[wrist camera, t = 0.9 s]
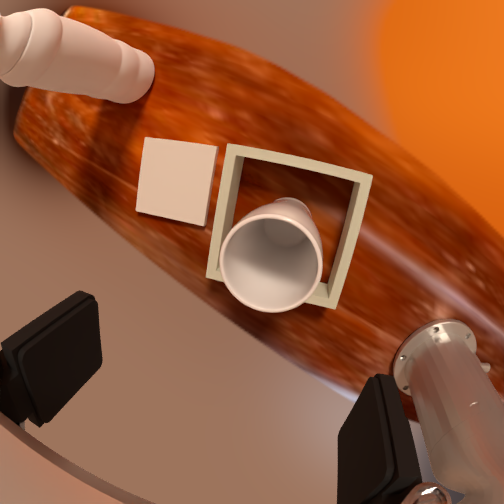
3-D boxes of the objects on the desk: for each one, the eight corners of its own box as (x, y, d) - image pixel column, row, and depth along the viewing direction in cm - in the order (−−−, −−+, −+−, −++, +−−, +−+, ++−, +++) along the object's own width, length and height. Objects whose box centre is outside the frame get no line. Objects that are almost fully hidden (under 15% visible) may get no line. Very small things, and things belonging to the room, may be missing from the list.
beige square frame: (365, 173, 31) (372, 175, 27) (333, 293, 35) (335, 309, 31) (237, 145, 32) (227, 143, 28) (216, 265, 37) (205, 277, 33)
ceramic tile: (219, 146, 33) (216, 146, 32) (206, 224, 35) (203, 226, 35) (148, 137, 34) (145, 137, 33) (139, 209, 37) (135, 210, 36)
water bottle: (102, 82, 33) (-63, 55, 9) (138, 42, 30) (-20, -23, 7) (127, 115, 33) (-56, 102, 10) (167, 74, 31) (-9, 8, 8)
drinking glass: (259, 251, 35) (222, 313, 21) (255, 191, 33) (212, 215, 19) (319, 250, 34) (323, 315, 20) (318, 188, 32) (323, 211, 18)
